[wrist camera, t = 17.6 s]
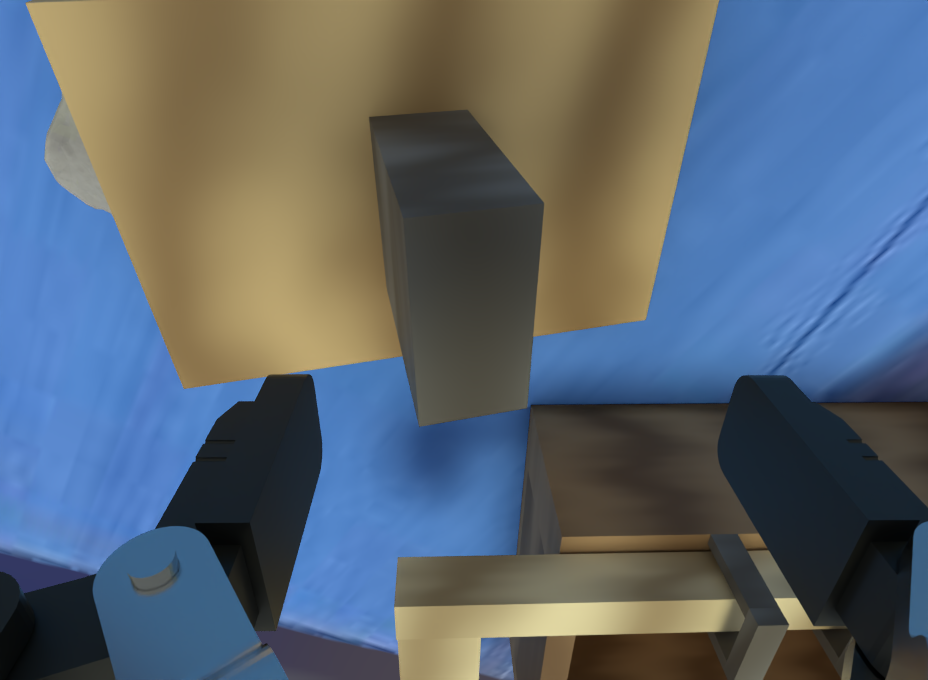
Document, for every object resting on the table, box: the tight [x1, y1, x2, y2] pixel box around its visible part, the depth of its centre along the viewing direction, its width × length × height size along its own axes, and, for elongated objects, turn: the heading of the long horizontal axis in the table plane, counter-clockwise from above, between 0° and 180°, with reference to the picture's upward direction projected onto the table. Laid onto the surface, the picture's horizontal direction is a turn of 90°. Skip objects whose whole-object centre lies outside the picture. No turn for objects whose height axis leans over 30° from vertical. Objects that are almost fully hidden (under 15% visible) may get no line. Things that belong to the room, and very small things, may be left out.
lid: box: [26, 0, 719, 427], centre depth 17 cm, size 19×12×8 cm, turn 92°
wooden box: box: [510, 402, 928, 680], centre depth 28 cm, size 22×18×12 cm
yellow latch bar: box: [394, 550, 847, 680], centre depth 21 cm, size 19×6×3 cm, turn 89°
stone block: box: [44, 93, 112, 214], centre depth 19 cm, size 12×5×10 cm
